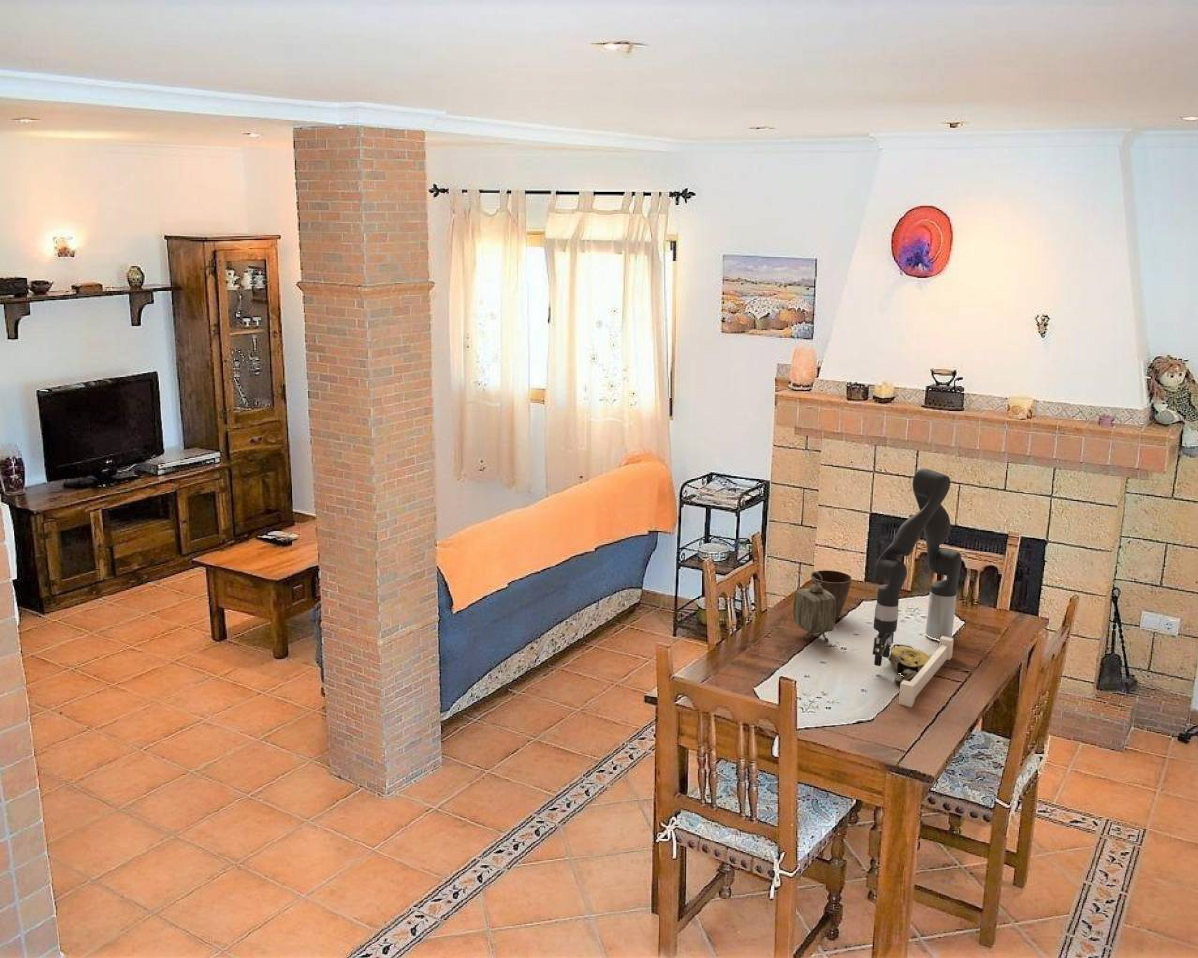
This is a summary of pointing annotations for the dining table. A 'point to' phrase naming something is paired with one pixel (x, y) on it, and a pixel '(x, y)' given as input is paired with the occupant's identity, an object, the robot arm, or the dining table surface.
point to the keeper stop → (925, 672)
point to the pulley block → (907, 661)
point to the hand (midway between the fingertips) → (881, 661)
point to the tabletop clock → (815, 609)
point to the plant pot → (835, 586)
